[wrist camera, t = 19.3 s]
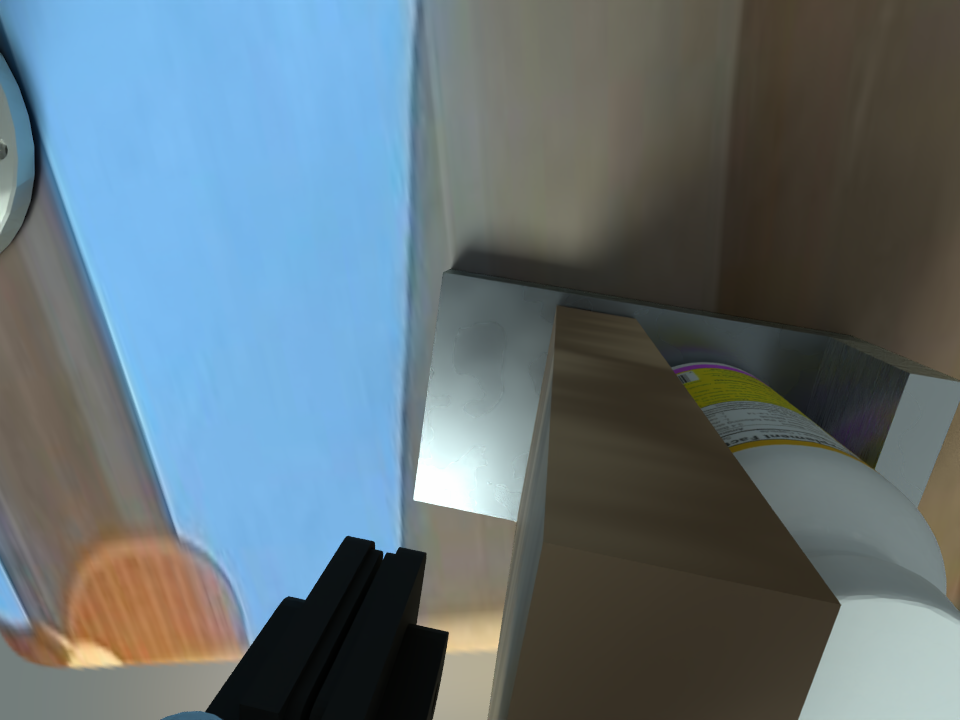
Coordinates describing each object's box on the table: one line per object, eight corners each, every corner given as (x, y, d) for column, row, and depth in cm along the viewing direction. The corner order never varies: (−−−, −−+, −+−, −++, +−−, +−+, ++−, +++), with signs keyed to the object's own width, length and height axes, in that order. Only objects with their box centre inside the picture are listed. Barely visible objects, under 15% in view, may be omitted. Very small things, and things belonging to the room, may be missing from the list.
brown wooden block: (518, 513, 24) (435, 1074, 8) (556, 305, 22) (543, 541, 6) (588, 528, 24) (640, 1136, 8) (635, 318, 21) (841, 604, 6)
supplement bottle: (761, 528, 23) (996, 896, 10) (596, 498, 23) (634, 811, 11) (806, 370, 21) (1152, 588, 9) (627, 343, 22) (713, 510, 9)
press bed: (421, 484, 26) (377, 568, 20) (450, 268, 24) (409, 287, 17) (778, 557, 25) (851, 673, 18) (851, 335, 22) (966, 383, 16)
